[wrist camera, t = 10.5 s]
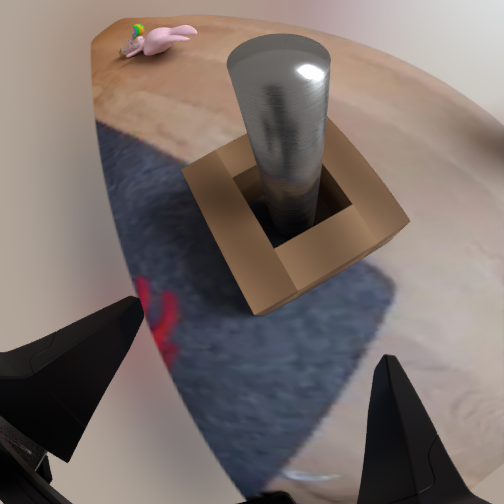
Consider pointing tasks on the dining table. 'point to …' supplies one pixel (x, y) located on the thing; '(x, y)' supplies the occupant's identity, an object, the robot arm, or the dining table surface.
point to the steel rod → (284, 120)
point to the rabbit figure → (155, 40)
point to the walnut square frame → (307, 243)
